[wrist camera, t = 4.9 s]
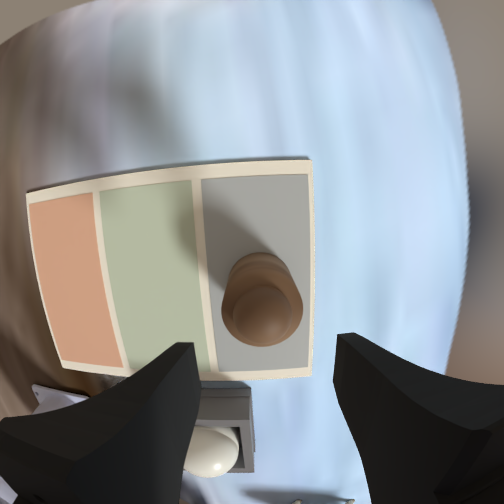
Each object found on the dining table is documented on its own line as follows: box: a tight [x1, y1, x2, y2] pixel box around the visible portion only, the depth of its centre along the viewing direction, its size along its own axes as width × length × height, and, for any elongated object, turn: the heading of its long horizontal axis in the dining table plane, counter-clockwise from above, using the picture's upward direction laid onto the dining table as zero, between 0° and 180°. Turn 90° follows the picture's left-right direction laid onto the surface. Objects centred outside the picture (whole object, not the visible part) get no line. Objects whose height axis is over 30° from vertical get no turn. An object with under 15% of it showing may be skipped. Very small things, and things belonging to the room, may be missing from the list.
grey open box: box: [118, 383, 255, 473], centre depth 19 cm, size 7×11×4 cm, turn 93°
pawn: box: [221, 252, 303, 347], centre depth 15 cm, size 4×4×6 cm
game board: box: [26, 160, 315, 381], centre depth 19 cm, size 15×21×1 cm
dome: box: [184, 426, 240, 478], centre depth 18 cm, size 5×5×5 cm
